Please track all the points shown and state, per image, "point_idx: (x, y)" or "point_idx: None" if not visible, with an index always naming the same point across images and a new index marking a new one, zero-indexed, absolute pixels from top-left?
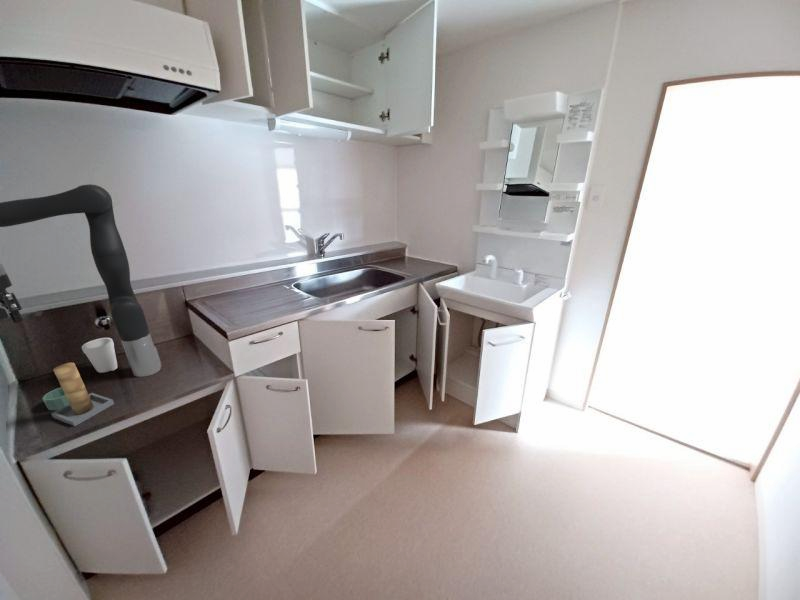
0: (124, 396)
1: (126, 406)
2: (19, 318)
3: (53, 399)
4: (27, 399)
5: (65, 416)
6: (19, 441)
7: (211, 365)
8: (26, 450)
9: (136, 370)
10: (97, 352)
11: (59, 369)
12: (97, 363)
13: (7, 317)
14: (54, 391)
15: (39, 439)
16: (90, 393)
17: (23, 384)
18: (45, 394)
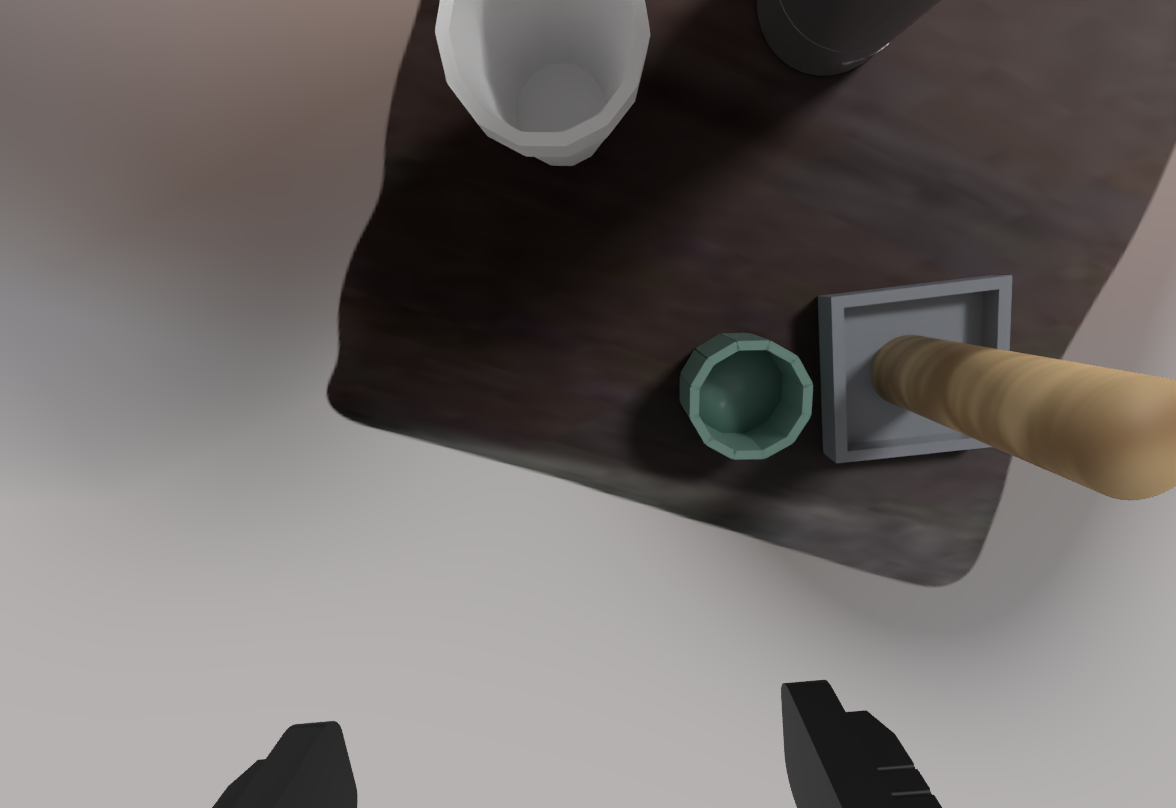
0: (959, 214)
1: (1059, 253)
2: (897, 770)
3: (795, 437)
4: (523, 449)
5: (928, 443)
6: (855, 564)
7: None
8: (944, 570)
9: (879, 47)
10: (632, 101)
11: (1154, 473)
12: (598, 145)
13: (339, 731)
14: (698, 402)
15: (919, 528)
16: (831, 304)
17: (335, 410)
18: (702, 438)
